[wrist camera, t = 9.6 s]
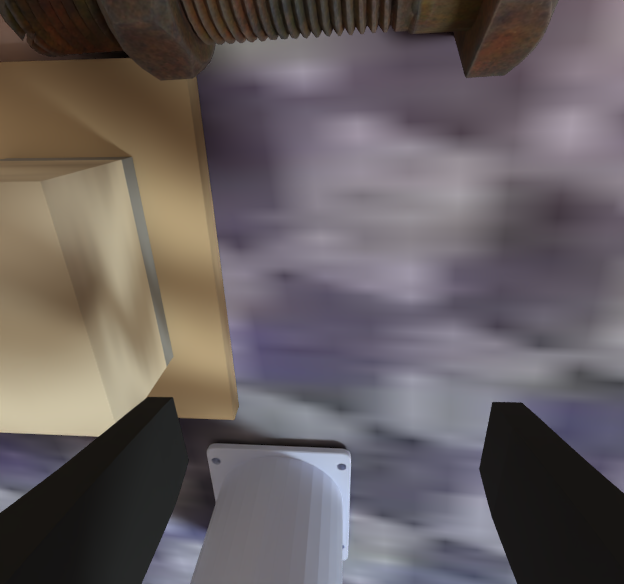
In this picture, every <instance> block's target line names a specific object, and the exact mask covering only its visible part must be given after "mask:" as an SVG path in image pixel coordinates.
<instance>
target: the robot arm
mask: <svg viewBox="0 0 624 584" xmlns="http://www.w3.org/2000/svg"><path fill="white" fill-rule="evenodd" d="M217 458H218V459H217ZM207 459H208V464H209V469H210V475H211V480H212V485H213V491H214V496H215V501H216V504H215V508H214V511H213V514H212V517H211V520H210V523H209V526H208V530H207V533H206V536H205V539H204V542H203V545H202V548H201V552H200V555H199V558H198V561H197V564H196V567H195V571H194V574H193V577H192V580H191V583H190V584H342V567H343V560H345V559H347V558H348V540H349V508H350V476H351V454H350V452H349V451H348V450H346V449H340V448H317V447H293V446H270V445H246V444H223V443H214V444H211V445H210V446H209V447H208V449H207ZM188 461H189V459H188V455H187V451H186V447H185V443H184V439H183V435H182V431H181V427H180V423H179V419H178V415H177V411H176V407H175V403H174V399H173V397H147V398H146V399H144V400H143V401H142V402H141V403H139V404H138V405H137V406H135V407H134V408H133V409H132V410H130V411H129V412H128V413H127V414H126V415H124V416H123V417H122V418H121V419H120V420H118V421H117V422H116V423H115V424H113V425H112V426H111V427H110V428H109V429H107V430H106V431H105V432H104V433H103V434H101V435H100V436H99V437H98V438H96V439H95V440H94V441H93V442H92V443H90V444H89V445H88V446H87V447H85V448H84V449H83V450H82V451H80V452H79V453H78V454H77V455H75V456H74V457H73V458H72V459H71V460H69V461H68V462H67V463H66V464H64V465H63V466H62V467H61V468H59V469H58V470H57V471H55V472H54V473H53V474H51V475H50V476H49V477H47V478H46V479H45V480H43V481H42V482H41V483H39V484H38V485H37V486H36V487H34V488H33V489H32V490H30V491H29V492H28V493H26V494H25V495H24V496H22V497H21V498H20V499H18V500H17V501H16V502H14V503H13V504H12V505H10V506H9V507H8V508H6V509H5V510H4V511H2V512H1V513H0V584H142V581H143V579H144V577H145V574H146V572H147V570H148V567H149V565H150V563H151V561H152V558H153V556H154V554H155V551H156V549H157V547H158V545H159V542H160V540H161V538H162V535H163V533H164V531H165V528H166V526H167V524H168V521H169V519H170V517H171V514H172V512H173V509H174V507H175V504H176V501H177V498H178V495H179V492H180V489H181V486H182V482H183V479H184V475H185V472H186V468H187V465H188ZM479 470H480V474H481V478H482V482H483V486H484V490H485V494H486V497H487V501H488V505H489V508H490V512H491V516H492V519H493V521H494V524H495V527H496V530H497V532H498V535H499V537H500V540H501V543H502V545H503V548H504V551H505V553H506V556H507V558H508V561H509V564H510V566H511V569H512V571H513V574H514V577H515V579H516V582H517V584H624V493H623V492H622V491H620V490H619V489H618V488H617V487H616V486H615V485H613V484H612V483H611V482H610V481H609V480H608V479H606V478H605V477H604V476H603V475H602V474H601V473H600V472H598V471H597V470H596V469H595V468H594V467H593V466H592V465H590V464H589V463H588V462H587V461H586V460H585V459H584V458H583V457H581V456H580V455H579V454H578V453H577V452H576V451H575V450H574V449H573V448H571V447H570V446H569V445H568V444H567V443H566V442H565V441H564V440H563V439H562V438H560V437H559V436H558V435H557V434H556V433H555V432H554V431H553V430H552V429H551V428H549V427H548V426H547V425H546V424H545V423H544V422H543V421H542V420H541V419H540V418H538V417H537V416H536V415H535V414H534V413H533V412H532V411H531V410H530V409H528V408H527V407H526V406H525V405H524V404H523V403H516V402H492V407H491V412H490V417H489V422H488V427H487V432H486V438H485V443H484V448H483V453H482V458H481V463H480V468H479Z"/></svg>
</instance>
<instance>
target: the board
mask: <svg viewBox="0 0 624 584" xmlns="http://www.w3.org/2000/svg"><path fill="white" fill-rule="evenodd" d="M77 157H132V158H133V163H134V168H135V173H136V177H137V182H138V187H139V192H140V197H141V202H142V206H143V211H144V216H145V221H146V226H147V231H148V235H149V240H150V245H151V250H152V255H153V260H154V265H155V269H156V274H157V279H158V284H159V289H160V294H161V298H162V303H163V308H164V313H165V318H166V323H167V327H168V332H169V337H170V342H171V347H172V352H173V356H174V357H173V358H172V360H171V361H170V363H169V364H168V366H167V367H166V369H165V370H164V372H163V373H162V375H161V376H160V378H159V379H158V381H157V382H156V384H155V385H154V387H153V388H152V390H151V391H150V393H149V394H148V396H147V397H173V399H174V403H175V407H176V411H177V415H178V418H199V419H225V420H234V419H235V416H236V413H237V410H238V407H239V403H238V395H237V388H236V380H235V372H234V365H233V357H232V349H231V341H230V334H229V326H228V318H227V310H226V303H225V295H224V287H223V279H222V272H221V264H220V256H219V248H218V241H217V233H216V225H215V217H214V210H213V202H212V194H211V186H210V179H209V171H208V163H207V155H206V148H205V140H204V132H203V125H202V117H201V109H200V101H199V94H198V86H197V78H196V77H194V78H193V79H180V80H164V81H160V80H159V79H157V78H156V77H154V76H153V75H151V74H150V73H148V72H147V71H145V70H144V69H142V68H141V67H140V66H139V65H137V64H136V63H135V62H134V61H133V60H132V59H131V58H113V59H81V60H50V61H18V62H0V159H6V158H77ZM147 397H146V398H147Z"/></svg>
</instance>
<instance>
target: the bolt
mask: <svg viewBox="0 0 624 584" xmlns="http://www.w3.org/2000/svg"><path fill="white" fill-rule="evenodd" d="M557 3H558V0H0V14H1V16H2V17H3V19H4V21H5V22H6V23H7V24H8V25H9V26H10V27H11V28H12V29H13V30H14V32H15V33H16V34H17V35H18V36H19V37H20V38H21V39H22V41H23V39H24V36H25V34H27V42H28V44H29V45H30V47H31V48H33V49H34V50H35V51H37V52H38V53H40V54H43V55H46V56H65V55H68V54H83V53H95V52H105V51H106V52H112V51H124V52H125V53H126V54H127V55H128V56H129V57H130V58H131V59H132V60H133V61H134V62H135V63H136V64H137V65H139V66H140V67H141V68H142V69H144V70H145V71H147V72H148V73H150V74H151V75H153V76H154V77H156V78H157V79H159V80H160V81H164V80H180V79H193V78H194V77H196V76H197V75H198V74H199V73H200V72H201V71H202V70H203V69H204V68H205V67H206V66H207V65H208V63H209V62H210V61H211V59H212V56H213V53H214V49H215V44H216V43H217V44H223V43H224V42H225V41H226V42H228V43H229V44H232V43H234V42H235V40H237V41H238V42H239V43H243V42H244V41H246V39H247V40H248V41H250V42H254V41H255V40H256V39H257V37H258V38H259V40H260V41H265V40H266V39H267V38H268V37H269V38H270V40H277V37H278V35H279V36H280V38H281V39H287V38H288V36H289V34H290V35H291V37H292V38H295V39H297V38H298V36H299V34H300V33H301V34H302V36H303V37H304V38H308V36H309V35H310V33H311V31H312V33H313V34H314V36H315V37H319V35H320V34H321V31H322V30H323V32H324V33H325V34H326V35H327V36H330V35H331V33H332V30H333V29H334V30H335V32H336V33H337V34H338V36H341V34H342V32H343V30H344V28H345V29H346V30H347V32H348V33H349V35H352V34H353V32H354V29H355V27H356V28H357V29H358V31H359V32H360V34H364V32H365V29H366V26H368V27H369V28H370V30H371V32H372V33H375V32H376V29H377V27H378V25H379V26H380V28H381V29H382V31H383V32H386V33H387V31H388V28H389V26H390V25H391V26H392V28H393V29H394V31H395V32H399V31H407V32H409V33H411V34H420V33H438V32H454V37H455V41H456V45H457V48H458V52H459V56H460V59H461V63H462V67H463V70H464V74H465V77H466V78H471V77H487V76H503V75H506V74H507V73H508V72H509V71H511V70H512V69H513V68H514V67H516V66H517V65H518V64H519V63H521V62H522V61H523V60H524V59H525V58H526V57H527V56H528V55H529V54H530V53H531V52H532V51H533V50H534V49H535V47H536V46H537V45H538V43H539V42H540V41H541V39H542V37H543V35H544V33H545V32H546V29H547V27H548V24H549V22H550V20H551V17H552V15H553V12H554V10H555V8H556V5H557Z"/></svg>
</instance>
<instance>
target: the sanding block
mask: <svg viewBox="0 0 624 584" xmlns="http://www.w3.org/2000/svg"><path fill="white" fill-rule="evenodd" d="M173 357H174V356H173V352H172V347H171V342H170V337H169V332H168V327H167V323H166V318H165V313H164V308H163V303H162V298H161V294H160V289H159V284H158V279H157V274H156V269H155V265H154V260H153V255H152V250H151V245H150V240H149V235H148V231H147V226H146V221H145V216H144V211H143V206H142V202H141V197H140V192H139V187H138V182H137V177H136V173H135V168H134V163H133V158H132V157H77V158H6V159H0V432H2V433H26V434H50V435H73V436H97V437H99V436H100V435H101V434H103V433H104V432H105V431H106V430H107V429H109V428H110V427H111V426H112V425H113V424H115V423H116V422H117V421H118V420H120V419H121V418H122V417H123V416H124V415H126V414H127V413H128V412H129V411H130V410H132V409H133V408H134V407H135V406H137V405H138V404H139V403H141V402H142V401H143V400H144V399H146V397H147V396H148V394H149V393H150V391H151V390H152V388H153V387H154V385H155V384H156V382H157V381H158V379H159V378H160V376H161V375H162V373H163V372H164V370H165V369H166V367H167V366H168V364H169V363H170V361H171V360H172V358H173Z"/></svg>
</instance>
